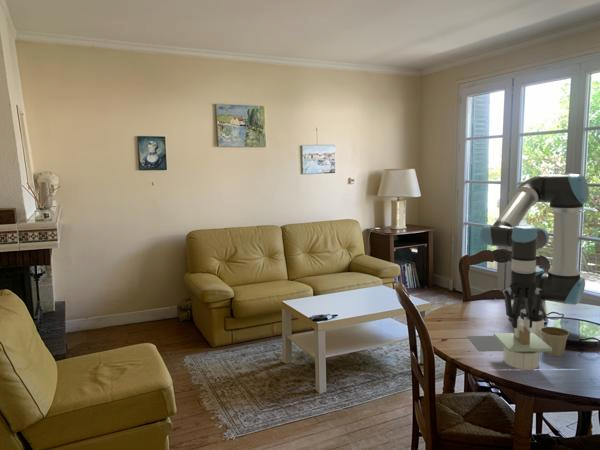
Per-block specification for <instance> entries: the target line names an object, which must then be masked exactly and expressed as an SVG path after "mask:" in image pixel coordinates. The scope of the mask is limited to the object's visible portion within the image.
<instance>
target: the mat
mask: <svg viewBox="0 0 600 450" xmlns="http://www.w3.org/2000/svg"><path fill="white" fill-rule="evenodd" d="M466 337H467V339H468V340H469V342H471V343H472V345H473V346H474V348H475V349H476V350H477V351H478V352H504V346H503V345H502V344H501V343H500V342H499V341H498V340H497V339H496V338H495V337H494V335H466Z"/></svg>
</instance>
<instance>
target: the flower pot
mask: <svg viewBox="0 0 600 450" xmlns="http://www.w3.org/2000/svg"><path fill="white" fill-rule="evenodd" d="M540 331H541V334H542V337H543V341H544V342H545V343H546V344H547V345H549V346H550V347H551V348H552V351H543V352H544V353H545V354H547V355H549V356H555V357H561V356H564V354H565V349H566V343H567V340H568V337H569V335H570V332H569V331H568V330H567V329H565V328H561V327H556V326H544V327H543V328H541V329H540Z"/></svg>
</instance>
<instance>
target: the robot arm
mask: <svg viewBox="0 0 600 450" xmlns="http://www.w3.org/2000/svg"><path fill="white" fill-rule="evenodd" d="M589 196H590V195H589V185H588V182H587V179H586V177H585V176H584V175H582V174H580V173H577V174H576V173H559V174H557V173H556V174H551V173H549V174H546V173H545V174H544V173H543V174H539V175H536V176H532V177H530V178H528V179H526V180H525V181H524V182H522V183H521V184H520V185H519V186H517V188H516V189H515V190H514V193H513V197H512V199H511V200H510V201H509V203H508V204H507V206H506V207H505V208H504V209H503V211H502V212H501V214H500V215H499V217H498V218H497V219H496V220H495V222H494V223H493V225H491V224H489V225H484V226H482V228H481V230H480V236H479V237H480V241H481V243H482V244H483V245H486V246H491V247H503V248H511V266H510V267H511V271H510V272H511V273H510V284H509V287H508V288H504V289H502V290H501V291H502V294H503V295H504V304H505V305H504V306H505V313H506V314H505V315H506V316H507V317H508V319H509V320H510V321H511V326H512V328H513V333H514V335H515V336H516V337H517V338H520V320H519V316H520V310H522V309H526V316H527V317H524V327H525V328H526V329H527V330H528V331H529V328H532V320H534V318H535V317H536V318H537V317H538V315H539V310H540V311H542V312H543V320H544V321H546V320H547V321H548V316H547V314H546V310H545V307H544V306H545V305H544V301H548V302H554V303H560V304H564V305H573V306H575V305H578V304H579V303H580V302H581V300H582V298H583V295H584V292H585V287H586V279H585V278H584V277H581V272H580V271H579V269H577V253H578V226H579V225H578V223H579V211H580V210H582V208H584V204H587V203H588V201H589ZM537 203H549V208H550V209H551V210H552V211H553V231H552V232H553V234H552V235H553V236H552V237H553V238H552V265H551V266H552V267H550V268H549V269H548V270H547V272H545V270H544V269H543V268H540V267H537V250H539V249H542V248H544V247H545V246H546V245H547V244H548V242H549V239H550V234H549V233H548V231H547V230H546V229H545V228H543V227H539V226H533V225H520V223H521V222H522V220H523V219H524V218H525V216H526V215H527V213H528V212H529V210H530V208H531V207H534V206H535V205H536V204H537ZM512 293H513V302H512V298H511V295H512Z"/></svg>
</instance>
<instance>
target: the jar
mask: <svg viewBox="0 0 600 450" xmlns="http://www.w3.org/2000/svg"><path fill="white" fill-rule="evenodd" d="M524 317H527V316H526V309H522V310H520V316H519V320H520V325H522V326H524ZM543 327H545V324H544V320H543V312H542V311H540V310H539V315H538V317H537V318H536V317H535V318H534V320H532V328H529V331H530V333H534V334H535V335H537V336H538V337H539V338H540V339H541V340H543V337H542V334H541V331H540V329H541V328H543Z"/></svg>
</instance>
